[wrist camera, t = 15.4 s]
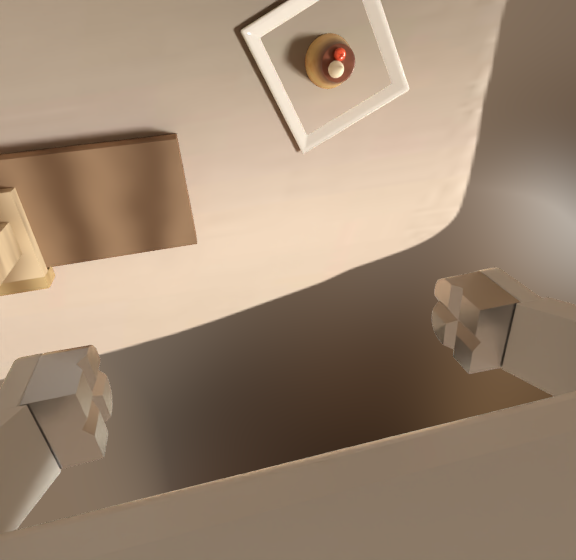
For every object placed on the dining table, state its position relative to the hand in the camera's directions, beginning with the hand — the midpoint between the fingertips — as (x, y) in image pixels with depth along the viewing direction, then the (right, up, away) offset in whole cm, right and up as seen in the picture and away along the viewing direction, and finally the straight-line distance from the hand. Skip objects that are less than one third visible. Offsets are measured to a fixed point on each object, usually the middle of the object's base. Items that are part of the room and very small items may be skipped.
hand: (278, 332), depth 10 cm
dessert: (+4, +21, +30) cm, 37 cm away
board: (-20, +8, +30) cm, 37 cm away
